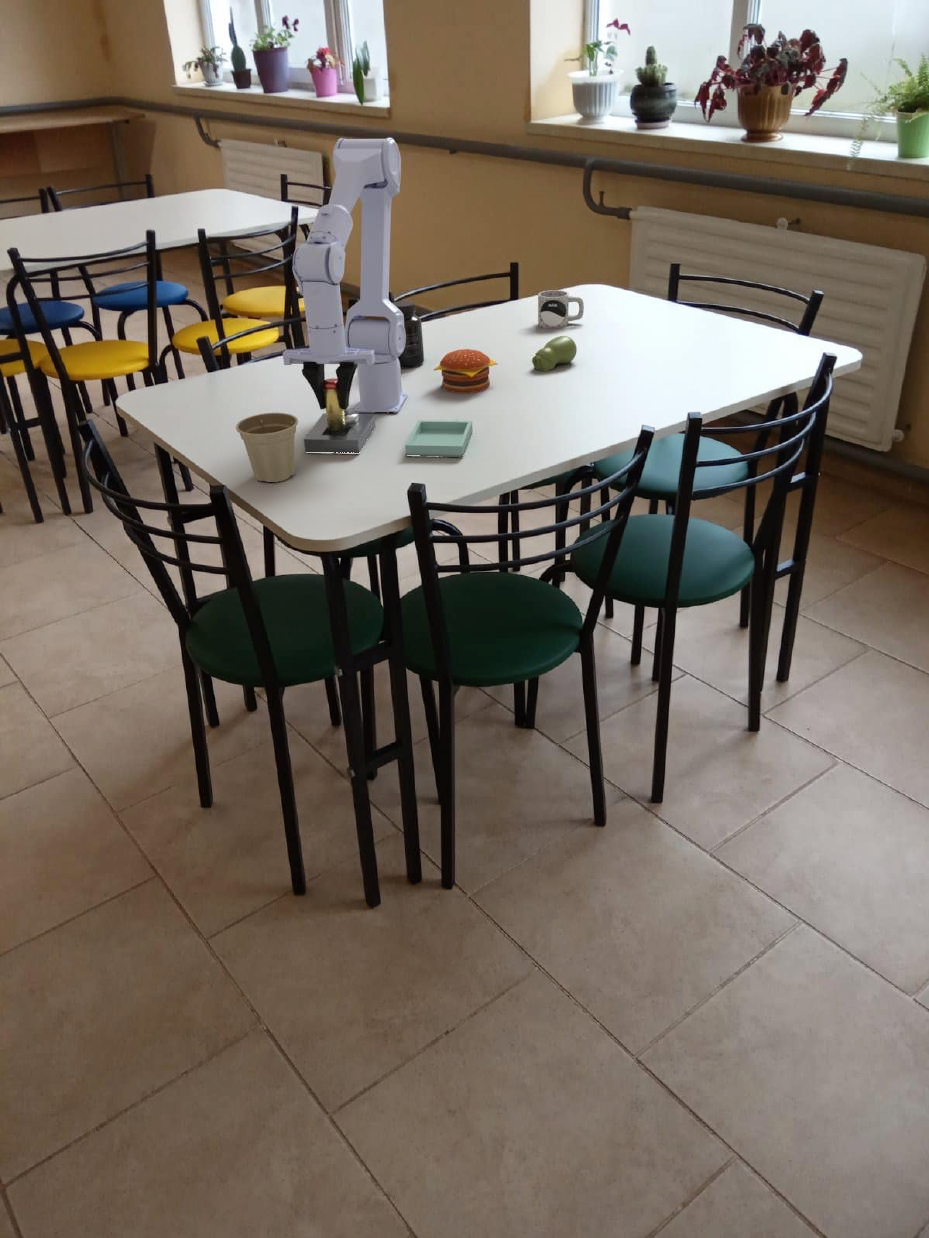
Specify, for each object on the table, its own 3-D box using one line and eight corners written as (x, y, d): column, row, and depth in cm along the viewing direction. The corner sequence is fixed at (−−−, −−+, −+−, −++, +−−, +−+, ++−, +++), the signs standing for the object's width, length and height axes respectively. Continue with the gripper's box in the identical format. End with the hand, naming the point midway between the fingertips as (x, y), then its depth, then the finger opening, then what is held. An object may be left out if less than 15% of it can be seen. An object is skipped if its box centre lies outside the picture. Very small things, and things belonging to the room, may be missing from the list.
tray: (419, 431, 175) (418, 420, 174) (472, 432, 174) (472, 421, 173) (406, 457, 165) (405, 445, 164) (462, 458, 164) (462, 446, 163)
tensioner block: (324, 427, 179) (322, 404, 176) (375, 428, 177) (373, 405, 175) (305, 453, 168) (302, 429, 166) (359, 454, 167) (356, 430, 165)
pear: (581, 335, 201) (544, 355, 196) (583, 360, 204) (547, 380, 200) (560, 329, 204) (524, 348, 200) (563, 354, 208) (527, 374, 203)
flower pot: (232, 477, 161) (223, 424, 157) (281, 459, 167) (274, 408, 162) (267, 493, 156) (259, 439, 151) (316, 474, 161) (310, 421, 157)
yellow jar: (330, 424, 171) (325, 378, 167) (347, 424, 171) (343, 378, 167) (325, 430, 169) (320, 384, 165) (343, 431, 168) (338, 384, 164)
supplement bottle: (426, 358, 210) (422, 298, 204) (421, 368, 205) (418, 307, 198) (393, 358, 211) (388, 299, 205) (387, 369, 205) (382, 308, 199)
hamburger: (458, 375, 200) (456, 341, 197) (500, 382, 196) (499, 348, 192) (430, 389, 194) (428, 354, 190) (473, 397, 189) (472, 361, 186)
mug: (538, 329, 226) (538, 298, 222) (537, 320, 231) (537, 290, 228) (584, 327, 225) (585, 296, 222) (582, 319, 231) (583, 289, 227)
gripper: (272, 331, 158) (284, 415, 166) (364, 331, 156) (372, 416, 163) (286, 318, 164) (296, 400, 171) (374, 318, 162) (382, 401, 169)
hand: (334, 407), depth 168 cm, fingers closed on yellow jar, 3 cm apart
